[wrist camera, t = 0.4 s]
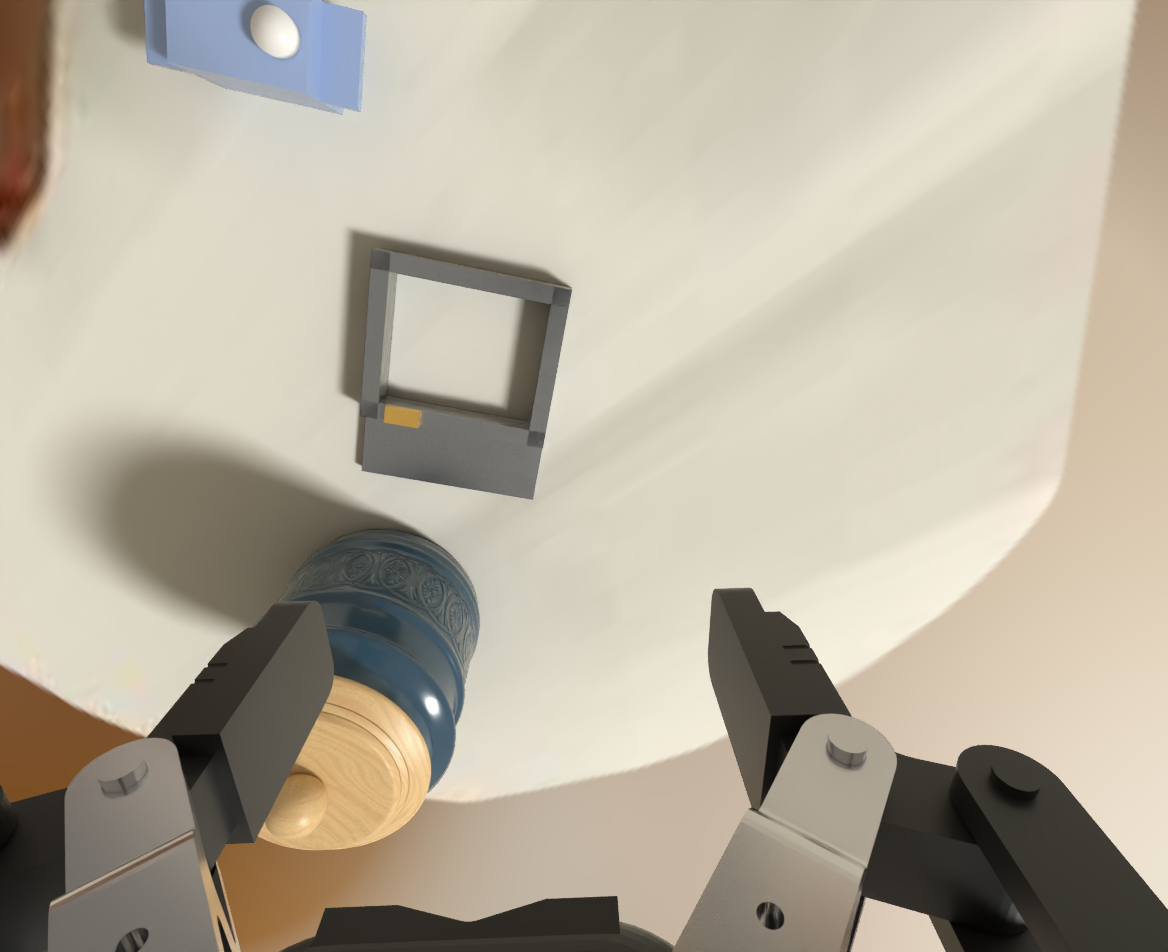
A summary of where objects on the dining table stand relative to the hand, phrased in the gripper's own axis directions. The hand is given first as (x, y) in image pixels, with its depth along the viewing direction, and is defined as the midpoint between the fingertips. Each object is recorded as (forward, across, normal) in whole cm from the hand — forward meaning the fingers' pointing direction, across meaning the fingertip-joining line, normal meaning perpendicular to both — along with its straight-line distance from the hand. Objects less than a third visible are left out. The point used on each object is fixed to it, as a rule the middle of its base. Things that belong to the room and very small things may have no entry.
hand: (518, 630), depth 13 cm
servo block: (+27, +13, -16) cm, 34 cm away
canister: (+27, +12, +17) cm, 34 cm away
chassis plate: (+27, +5, +1) cm, 27 cm away
